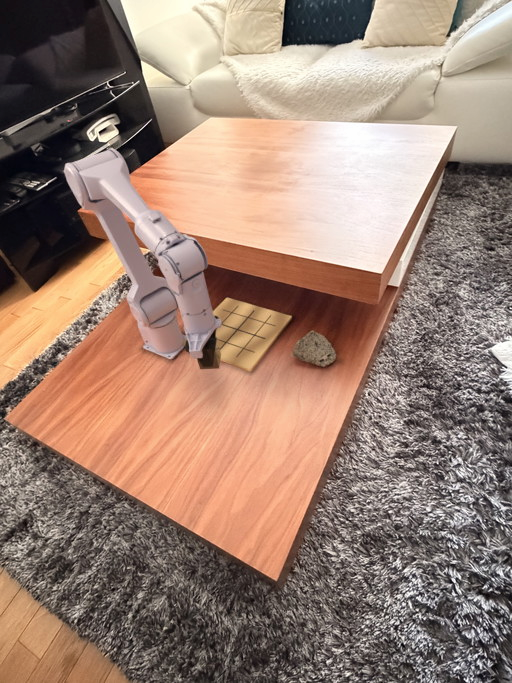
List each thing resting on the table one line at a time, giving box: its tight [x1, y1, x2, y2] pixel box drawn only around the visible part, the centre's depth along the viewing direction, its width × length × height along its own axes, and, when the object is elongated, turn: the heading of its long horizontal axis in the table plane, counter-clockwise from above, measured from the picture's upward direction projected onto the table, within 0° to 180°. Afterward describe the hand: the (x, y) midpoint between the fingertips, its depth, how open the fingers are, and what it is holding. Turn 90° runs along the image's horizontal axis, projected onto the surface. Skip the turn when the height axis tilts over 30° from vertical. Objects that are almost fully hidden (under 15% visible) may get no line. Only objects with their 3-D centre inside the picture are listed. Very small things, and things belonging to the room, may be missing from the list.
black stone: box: [196, 337, 221, 371], centre depth 78 cm, size 4×4×5 cm
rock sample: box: [291, 330, 338, 368], centre depth 86 cm, size 10×8×9 cm
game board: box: [183, 297, 293, 373], centre depth 96 cm, size 20×20×1 cm
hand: (209, 357), depth 79 cm, fingers closed on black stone, 4 cm apart
